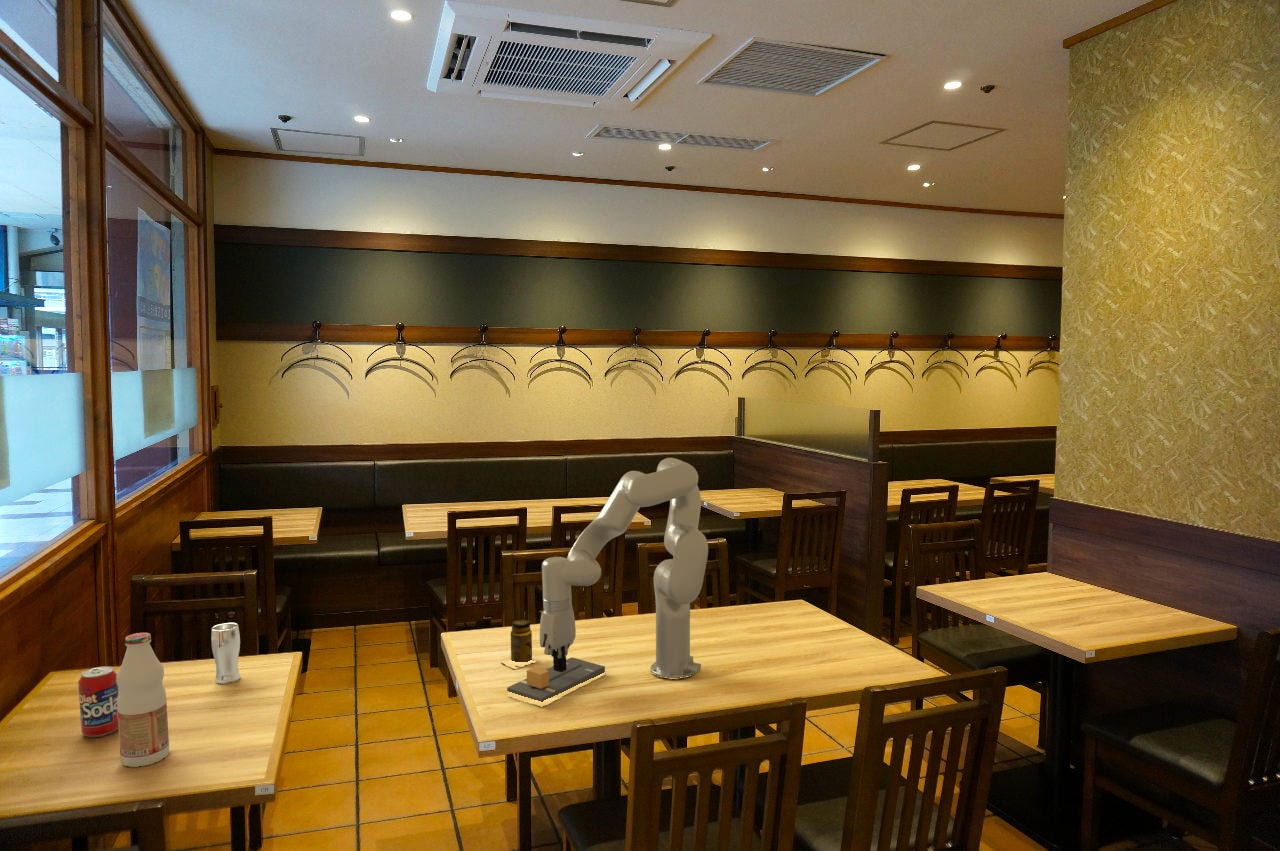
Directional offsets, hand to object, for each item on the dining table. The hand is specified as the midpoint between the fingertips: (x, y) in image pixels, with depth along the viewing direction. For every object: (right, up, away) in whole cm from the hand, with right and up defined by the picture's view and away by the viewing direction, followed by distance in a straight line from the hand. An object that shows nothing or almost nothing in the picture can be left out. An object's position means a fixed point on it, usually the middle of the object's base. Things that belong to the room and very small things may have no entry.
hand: (560, 670), depth 227 cm
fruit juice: (-89, -8, -39) cm, 97 cm away
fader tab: (-5, -2, -6) cm, 8 cm away
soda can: (-107, -7, -26) cm, 110 cm away
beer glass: (-92, -4, +5) cm, 92 cm away
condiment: (-13, -3, +17) cm, 22 cm away
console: (-1, -4, 0) cm, 4 cm away
